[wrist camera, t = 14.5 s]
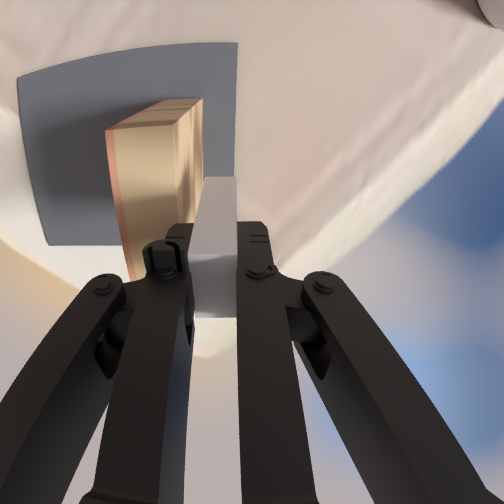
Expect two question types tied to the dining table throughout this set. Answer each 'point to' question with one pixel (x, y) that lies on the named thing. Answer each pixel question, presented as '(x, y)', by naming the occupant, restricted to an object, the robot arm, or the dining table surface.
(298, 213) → the dining table surface
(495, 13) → the cup
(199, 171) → the tan block
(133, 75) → the slate mat
